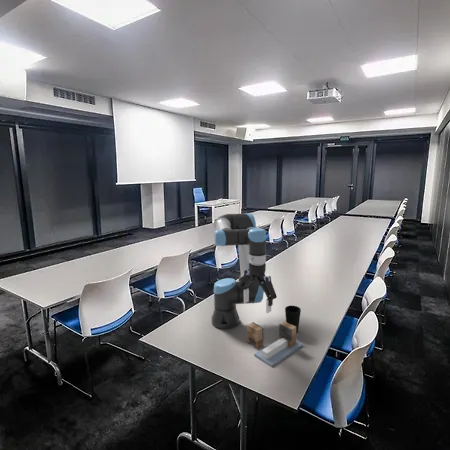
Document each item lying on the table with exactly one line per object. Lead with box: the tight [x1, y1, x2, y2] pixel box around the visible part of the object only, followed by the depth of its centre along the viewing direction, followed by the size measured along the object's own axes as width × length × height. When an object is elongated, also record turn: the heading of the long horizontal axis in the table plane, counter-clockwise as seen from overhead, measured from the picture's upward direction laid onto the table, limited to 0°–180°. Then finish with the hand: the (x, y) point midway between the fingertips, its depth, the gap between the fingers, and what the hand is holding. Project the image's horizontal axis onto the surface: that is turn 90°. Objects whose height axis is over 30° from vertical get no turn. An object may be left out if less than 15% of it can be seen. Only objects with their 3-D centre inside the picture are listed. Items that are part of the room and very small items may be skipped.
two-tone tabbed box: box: [246, 321, 264, 349], centre depth 137 cm, size 7×4×9 cm, turn 41°
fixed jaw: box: [278, 321, 297, 348], centre depth 135 cm, size 7×4×9 cm, turn 41°
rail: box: [254, 338, 304, 367], centre depth 132 cm, size 10×22×4 cm, turn 131°
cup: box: [284, 305, 302, 334], centre depth 147 cm, size 8×8×12 cm
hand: (257, 306), depth 135 cm, fingers open, 13 cm apart
